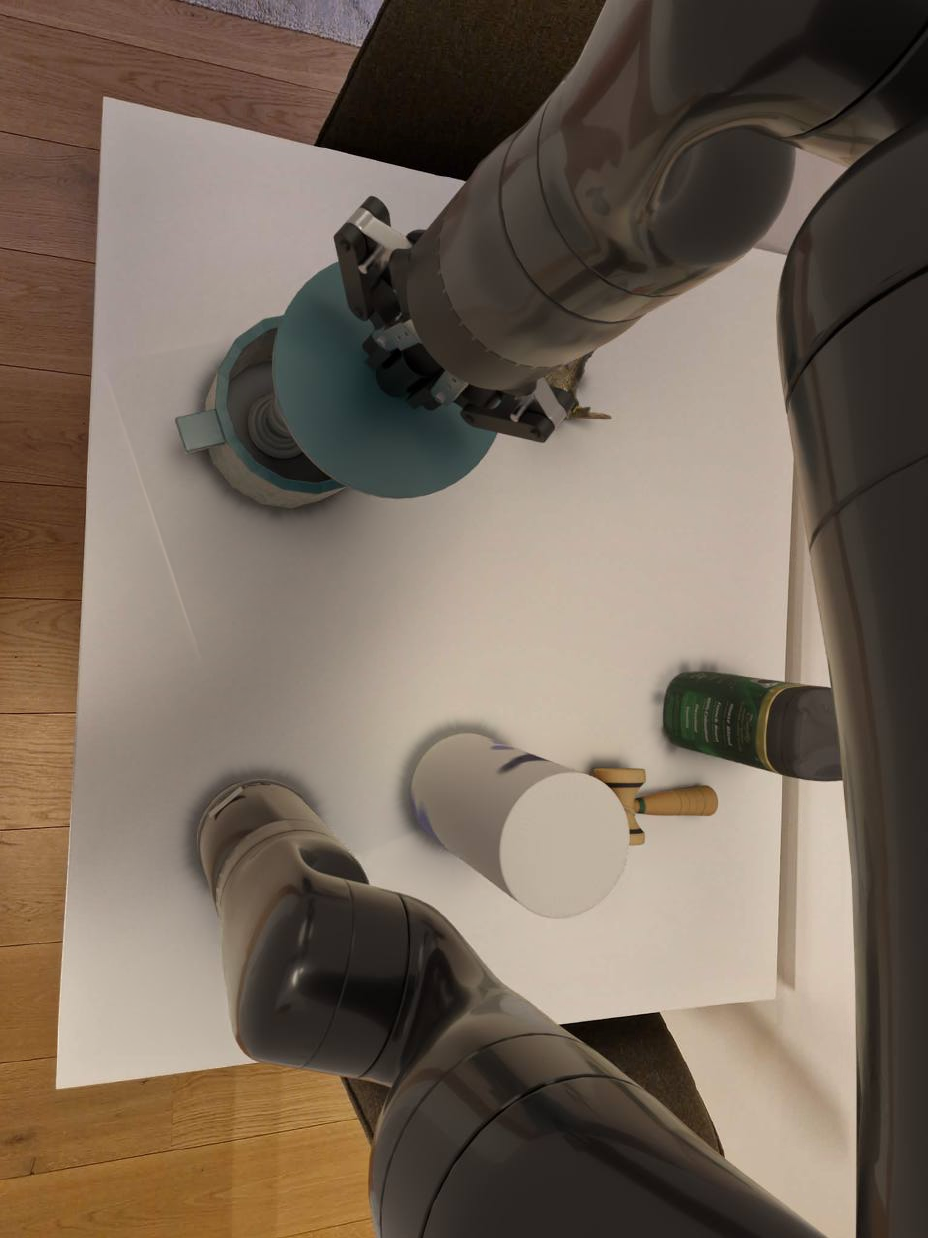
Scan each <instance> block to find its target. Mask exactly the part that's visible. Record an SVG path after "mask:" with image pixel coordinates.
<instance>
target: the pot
mask: <svg viewBox="0 0 928 1238" xmlns="http://www.w3.org/2000/svg"><path fill="white" fill-rule="evenodd" d="M283 315H284V314H282V315H276V316H272V317H267V318H263V319H261V320H260V321H259V322H257V323H256V324H254V325H253V326H252V327H250V328H249V329H247V330H246V331H245V332H243V333H242V334H239V336H238V337H236V338H235V339H234V341H233V342H232V344H231V346H230V348H229V350H228V351H227V353H226V355H225V357H224V359H223V360H222V362H221V364H220V366H219V367H218V370H217V372H216V374H215V377H214V379H213V381H212V384H211V386H210V388H209V390H208V393H207V395H206V399H205V402H204V411H199V412H195V413H191V414H185V415H183V416H181V415H180V416H177V417H175V418H174V424H175V427H176V430H177V433H178V436H179V439H180V442H181V446H182V448H183V449H182V450H183V452H184V454H185V455H188V454H192V453H195V452H199V451H205V450H208V453H209V456H210V460H211V463H212V464H213V466H214V467H215V468H216V469H217V471H218V472H219V473H220V474H221V475H222V476H223V478H224V480H226V482H227V483H228V484H229V485H230V487H232V488H233V489H234V490H236V491H237V492H239V493H241V494H243V495H244V496H247V497H248V498H250V499H252V500H254V501H255V502H257V503H259V504H261V505H265V506H274V507H282V508H290V509H295V508H298V507H301V506H305V505H308V504H312V503H317V502H321V501H322V500H325V499H327V498H328V497H330V496H332V495H334V494H336V493H338V492H340V491H343V490H344V489H346V488H347V487H346V486H344V485H343V484H341V483H339V482H337V481H335V480H334V479H333V478H329V479H327V480H323V481H318V482H312V481H305V480H297V479H291V478H285V477H283V476H282V475H280V474H278V473H276V472H274V471H273V470H272V469H269V468H267V467H266V466H264V465H262V464H261V463H259V462H257V460H256V458H254V456H253V455H252V454H251V452H250V451H249V450H248V449H247V447H245V445H244V444H243V442H242V441H241V440H240V438H238V437H237V433H236V430H235V427H234V423H233V420H232V417H231V414H230V412H229V408H228V399H229V387H230V381H231V380H232V379H233V378H234V377H236V376H237V375H239V374H240V373H242V372H243V371H244V370H246V369H247V368H249V367H250V366H253V365H257V364H262V363H268V362H272V354H273V348H274V342H275V337H276V334H277V331H278V328H279V324H280V322H281V320H282V318H283Z"/></svg>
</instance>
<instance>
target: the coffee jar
mask: <svg viewBox="0 0 928 1238" xmlns="http://www.w3.org/2000/svg"><path fill="white" fill-rule="evenodd" d="M666 691H667V692H666V696H665V699H664V706H663V707H664V708H663V724H664V730H665V733H666V736H667V738H668V739H669V741H671V743H672V744H673V745H675V746H676V747H679V748H681V749H685V750H688V751H692V752H696V753H699V754H703V755H707V756H711V757H714V758H715V757H716V758H718V759H723V760H726V761H729V762H733V763H737V764H741V765H744V766H746V767H747V766H748V767H750V768H755V769H758V770H763V771H766V772H769V773H774V774H776V775H780V776H783V777H788V778H793V779H799V780H803V781H810V782H822V783H823V782H824V783H825V782H827V783H828V782H843V778H842V768H841V761H840V753H839V746H838V738H837V730H836V723H835V715H834V708H833V700H832V692H831V686H830V687H829V686H821V685H812V684H805V683H804V684H803V683H797V682H790V681H783V680H775V679H767V678H759V677H751V676H743V675H737V674H731V673H723V672H715V671H714V672H713V671H692V672H691V671H690V672H685V673H681V674H679V675H678V676H676V677H675V678H674V679H673V680H672V681H671V683H670V685H669V686H668V688H667V690H666Z"/></svg>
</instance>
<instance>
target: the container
mask: <svg viewBox="0 0 928 1238" xmlns="http://www.w3.org/2000/svg"><path fill="white" fill-rule="evenodd" d="M410 803H411V808H412V812H413V814H414V817H415V819H416V821H417V822H418V825H419V826H420V827H421V829H422V830H423V831H424V832H425V833H426V834H427V835H429V837H431V838H432V839H433V840H435V841H436V842H437V843H439V844H440V845H441V846H443V847H444V848H445V849H447V851H450V852H451V854H453V855H455V856H456V857H457V858H458V859H460V860H461V861H463V862H464V863H465V864H466V865H468V866H469V867H470V868H472V869H473V870H474V871H476V872H477V873H478V874H480V875H481V876H482V877H483V878H485V879H487V881H489V882H490V883H492V884H493V885H494V886H496V887H497V888H498V889H499V890H501V891H502V892H503V893H505V894H506V895H507V896H509V897H510V899H513V900H514V901H515V902H517V903H518V904H519V905H521V906H522V907H523V908H525V910H528V911H529V912H531V913H533V914H534V915H537V916H540V917H543V918H548V919H557V920H558V919H559V920H560V919H569V918H573V917H576V916H579V915H581V914H584V913H587V912H588V911H590V910H592V909H594V907H596V906H597V905H599V904H600V903H601V902H602V901H603V900H604V899H606V897H607V896H609V894H610V893H611V892H612V890H614V888H615V886H616V885H617V884H618V882H619V880H620V878H621V876H622V874H623V872H624V870H625V866H626V863H627V860H628V856H629V851H630V845H629V842H630V834H629V825H628V820H627V816H626V813H625V810H624V808H623V806H622V804H621V802H620V800H619V799H618V797H617V796H616V794H615V793H614V792H613V791H612V790H611V789H610V788H609V787H608V786H607V785H606V784H604V783H603V782H602V781H600V780H598V779H597V778H594V777H593V776H592V775H589V774H587V773H584V772H582V771H579V770H576V769H574V768H572V767H571V768H570V767H568V766H565V765H563V764H561V763H557V762H554V761H552V760H549V759H546V758H544V757H541V756H538V755H536V754H533V753H530V752H528V751H525V750H522V749H520V748H517V747H514V746H511V745H508V744H506V743H503V742H500V741H498V740H495V739H493V738H490V737H487V736H484V735H481V734H477V733H472V732H468V733H467V732H464V733H457V734H452V735H450V736H447V737H445V738H443V739H441V740H440V741H438V742H436V743H434V744H433V746H431V747H430V748H429V749H428V750H427V751H426V752H425V754H424V755H423V756H422V757H421V759H420V761H419V762H418V764H417V766H416V768H415V771H414V773H413V775H412V780H411V785H410Z"/></svg>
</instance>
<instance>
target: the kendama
mask: <svg viewBox="0 0 928 1238" xmlns="http://www.w3.org/2000/svg"><path fill="white" fill-rule="evenodd" d="M592 777H594V778H597V779H598V780H600V781H602V782H603V783H604V784H606V785H607V786H608V787H609V788H610V789H611V790H612V791H613V792H614V793H615V794H616V796H617V797H618V799H619V800H620V802H621V804H622V806H623V808H624V810H625V813H626V816H627V820H628V825H629V834H630V842H629V846H631V847H633V846H641V845H644V844H645V839H646V832H645V831H644V830H643V829H642V828H641V826H640V825H639V823H638V822H637V819H636V814H637V815H647V816H661V817H662V816H663V817H666V816H667V817H668V816H669V817H673V816H674V817H676V816H678V817H679V816H682V817H683V816H688V817H689V816H691V817H692V816H693V817H694V816H695V817H696V816H698V817H711V816H713V815H714V814H716V812H717V810H718V808H719V798H718V797H719V796H718V794H717V792H716V791H715V789H714V788H713V787H712V786H710V785H707V784H703V785H698V786H693V787H688V788H687V787H686V788H681V789H673V790H667V791H666V790H665V791H659V792H655V793H649V794H646V795H642V796H639V797H636V796H637V794H638V793H639V791H640V788H641V787H642V786H643V785H645V783H646V781H647V778H646V777H647V776H646V769H645V768H639V767H638V768H637V767H636V768H634V767H596V768H594V769H593V776H592Z"/></svg>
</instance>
